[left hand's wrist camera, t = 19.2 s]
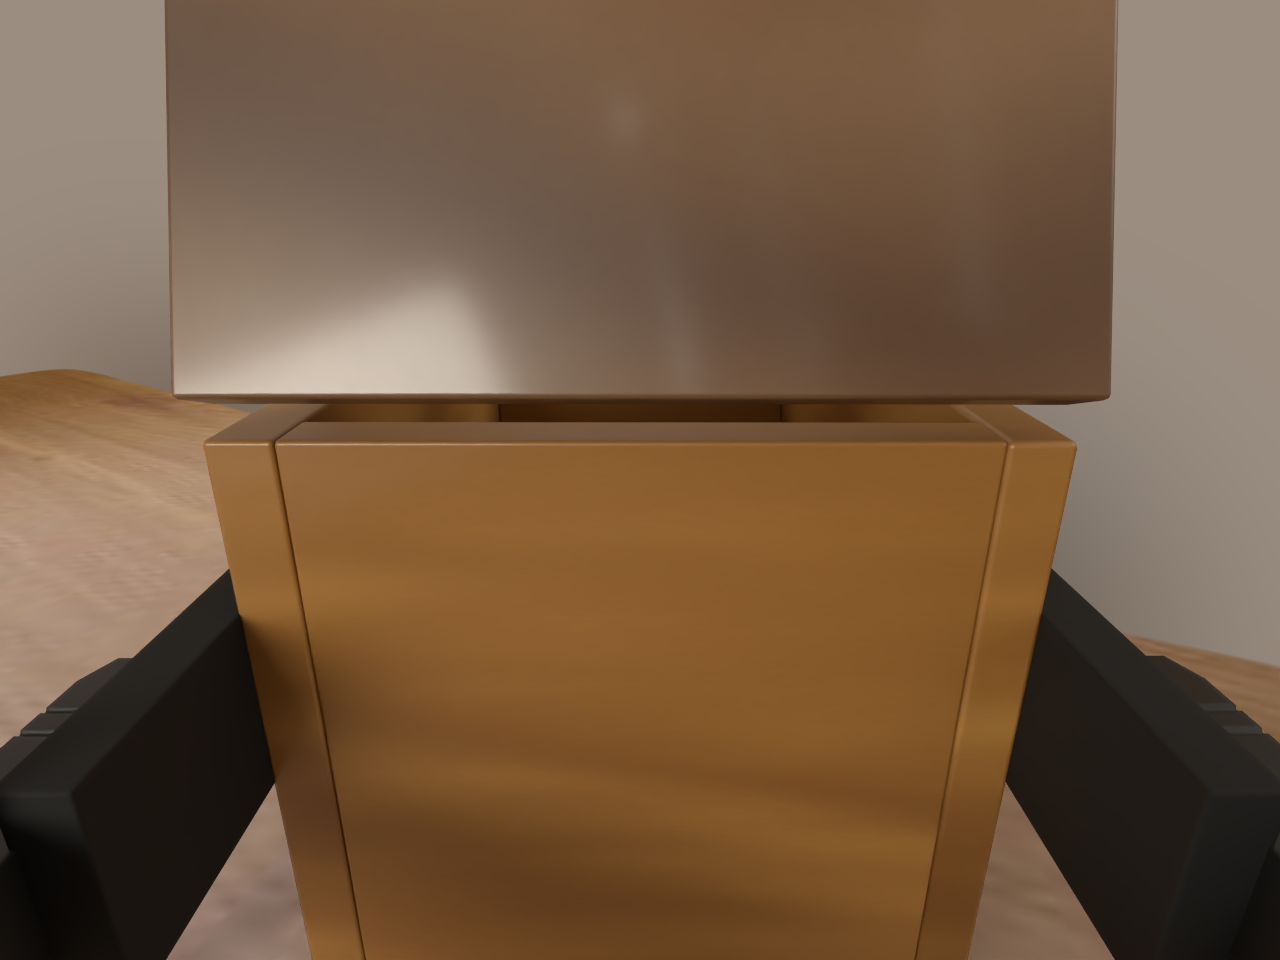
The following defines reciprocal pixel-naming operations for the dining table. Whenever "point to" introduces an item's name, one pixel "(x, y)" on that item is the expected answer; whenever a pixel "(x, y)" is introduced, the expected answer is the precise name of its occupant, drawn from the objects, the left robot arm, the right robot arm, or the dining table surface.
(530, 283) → the lid
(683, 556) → the chest
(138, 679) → the left robot arm
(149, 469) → the dining table surface
